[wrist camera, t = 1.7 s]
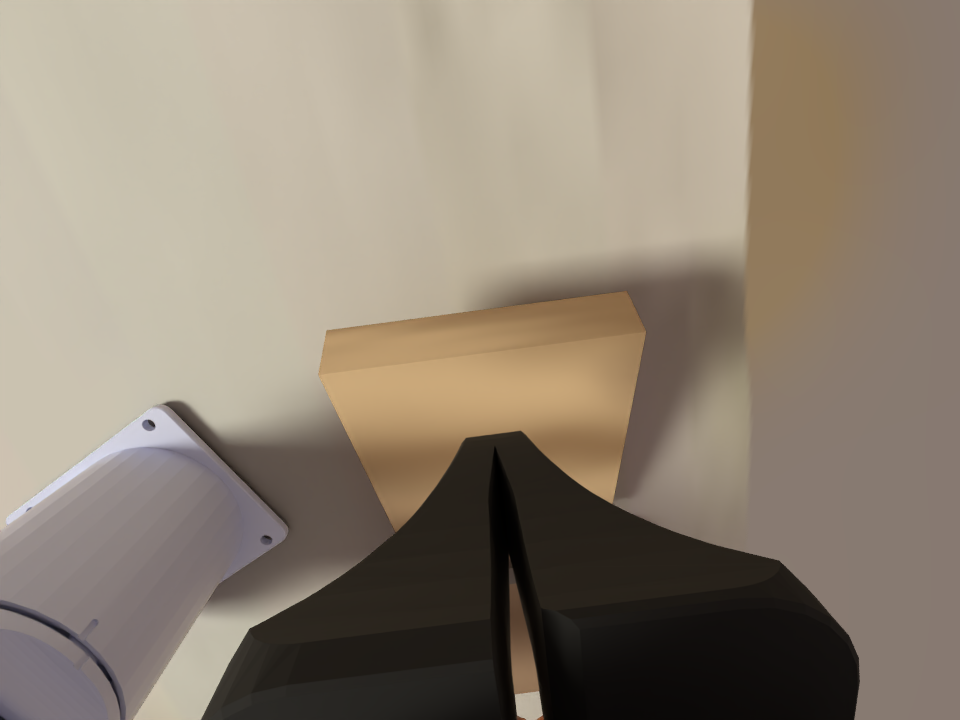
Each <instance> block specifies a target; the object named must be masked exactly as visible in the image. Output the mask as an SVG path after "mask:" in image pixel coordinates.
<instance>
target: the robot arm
mask: <svg viewBox="0 0 960 720" xmlns="http://www.w3.org/2000/svg"><path fill="white" fill-rule="evenodd" d="M148 420H151V421H153V422H154V423H155V427H153V426H151V425H150V424H149V423H148ZM6 524H7V526H6V527H4V528H3V529H2V530H0V720H133V718H134V717H135V715H136V714H137V712H138V711H139V709H140V707H141V706H142V704H143V703H144V701H145V699H146V698H147V696H148V695H149V693H150V692H151V690H152V688H153V687H154V685H155V684H156V682H157V680H158V679H159V677H160V676H161V674H162V673H163V671H164V669H165V668H166V666H167V665H168V663H169V662H170V660H171V658H172V657H173V655H174V654H175V652H176V650H177V649H178V647H179V646H180V644H181V643H182V641H183V639H184V638H185V636H186V635H187V633H188V632H189V630H190V628H191V627H192V625H193V624H194V622H195V620H196V619H197V617H198V616H199V614H200V613H201V611H202V609H203V608H204V606H205V605H206V603H207V602H208V600H209V598H210V597H211V595H212V594H213V592H214V590H215V589H216V587H217V586H218V584H219V583H221V582H222V581H224V580H225V579H227V578H228V577H230V576H231V575H233V574H234V573H236V572H237V571H239V570H240V569H242V568H243V567H245V566H246V565H248V564H249V563H251V562H252V561H254V560H255V559H257V558H258V557H260V556H261V555H263V554H264V553H266V552H267V551H269V550H270V549H272V548H273V547H275V546H276V545H278V544H279V543H281V542H282V541H283V540H284V539H285V538H286V536H287V534H288V527H287V525H286V524H285V523H284V522H283V521H282V520H281V519H280V518H279V517H278V516H277V515H276V514H275V513H274V512H273V511H272V510H271V509H270V508H269V507H268V506H267V505H266V504H265V503H264V502H263V501H262V500H261V499H260V498H259V497H258V496H257V495H256V494H255V493H254V492H253V491H252V490H251V489H250V488H249V487H248V486H247V485H246V484H245V483H244V482H243V481H242V480H241V479H240V478H239V477H238V476H237V475H236V474H235V473H234V472H233V471H232V470H231V469H230V468H229V467H228V466H227V465H226V464H225V463H224V462H223V461H222V460H221V459H220V458H219V457H218V456H217V455H216V454H215V453H214V452H213V450H212V449H211V448H210V447H209V446H208V445H207V444H206V443H205V442H204V441H203V440H202V439H201V438H200V437H199V436H198V435H197V434H196V433H195V432H194V431H193V430H192V429H191V428H190V427H189V426H188V425H187V424H186V423H185V422H184V421H183V420H182V419H181V418H180V417H179V416H178V415H177V414H176V413H175V412H174V411H173V410H172V409H171V408H169V407H168V406H166V405H163V404H159V405H155V406H153V407H152V408H150V409H149V410H147V411H146V412H145V413H143V414H142V415H141V416H139V417H138V418H137V419H136V420H134V421H133V422H132V423H130V424H129V425H128V426H126V427H125V428H124V429H122V430H121V431H120V432H118V433H117V434H116V435H114V436H113V437H112V438H110V439H109V440H108V441H106V442H105V443H104V444H102V445H101V446H100V447H99V448H97V449H96V450H95V451H93V452H92V453H91V454H89V455H88V456H87V457H85V458H84V459H83V460H81V461H80V462H79V463H77V464H76V465H75V466H73V467H72V468H71V469H69V470H68V471H67V472H65V473H64V474H63V475H62V476H60V477H59V478H58V479H56V480H55V481H54V482H52V483H51V484H50V485H48V486H47V487H46V488H44V489H43V490H42V491H40V492H39V493H38V494H36V495H35V496H34V497H32V498H31V499H30V500H29V501H27V502H26V503H25V504H23V505H22V506H21V507H19V508H18V509H17V510H15V511H14V512H13V513H11V514H10V515H9V516H8V517H7V518H6ZM264 535H268V536H270V537H271V538H272V539H267V538H265V537H264ZM509 556H510V560H511V564H512V568H513V573H514V577H515V581H516V585H517V589H518V593H519V597H520V601H521V605H522V609H523V614H524V618H525V622H526V626H527V630H528V634H529V638H530V642H531V646H532V651H533V656H534V661H535V666H536V672H537V679H538V685H539V692H540V699H541V705H542V712H543V718H544V720H854V717H855V711H856V704H857V697H858V690H859V682H860V680H859V657H858V655H857V653H856V651H855V649H854V646H853V644H852V641H851V639H850V637H849V635H848V634H847V633H846V632H845V631H844V629H843V628H842V627H841V626H840V625H839V624H838V623H837V622H836V620H835V619H834V618H833V617H832V616H831V615H830V614H829V613H828V611H827V610H826V609H825V608H824V606H823V605H822V604H821V603H820V602H819V601H818V600H817V598H816V597H815V596H814V595H813V594H812V593H811V592H810V591H809V590H808V588H807V587H806V586H805V585H803V584H802V583H801V582H800V581H799V580H798V579H797V578H796V577H795V576H794V575H793V574H792V573H791V572H790V571H789V570H788V569H787V568H786V567H785V566H784V565H783V564H782V563H781V562H780V561H778V560H774V559H769V558H766V557H761V556H757V555H753V554H749V553H745V552H741V551H737V550H733V549H728V548H724V547H720V546H716V545H713V544H709V543H706V542H703V541H700V540H697V539H694V538H691V537H688V536H685V535H682V534H679V533H676V532H673V531H671V530H668V529H665V528H663V527H660V526H658V525H655V524H653V523H651V522H648V521H646V520H644V519H642V518H639V517H637V516H635V515H633V514H630V513H628V512H626V511H624V510H622V509H620V508H618V507H616V506H615V505H613V504H611V503H609V502H608V501H606V500H604V499H602V498H601V497H599V496H597V495H596V494H594V493H592V492H591V491H589V490H588V489H586V488H585V487H583V486H582V485H580V484H579V483H578V482H576V481H575V480H573V479H572V478H571V477H570V476H568V475H567V474H566V473H565V472H563V471H562V470H561V469H560V468H559V467H558V466H557V465H555V464H554V463H553V462H552V461H551V460H550V459H549V458H548V457H547V456H545V455H544V454H543V453H542V452H541V451H540V450H539V449H538V448H537V447H536V446H535V444H534V443H533V442H532V441H531V440H530V439H529V438H528V437H527V435H526V434H524V433H523V432H522V431H514V432H507V433H499V434H491V435H483V436H476V437H468V438H465V440H464V441H463V442H462V443H461V446H460V448H459V450H458V451H457V453H456V455H455V457H454V459H453V460H452V462H451V464H450V466H449V467H448V469H447V470H446V472H445V473H444V475H443V476H442V478H441V479H440V481H439V482H438V484H437V485H436V487H435V488H434V489H433V491H432V492H431V493H430V495H429V496H428V497H427V499H426V500H425V501H424V502H423V504H422V505H421V506H420V508H419V509H418V510H417V511H416V512H415V513H414V515H413V516H412V517H411V518H410V519H409V520H408V521H407V522H406V523H405V524H404V525H403V526H402V527H401V528H400V529H399V530H398V531H397V532H396V533H395V534H394V535H393V536H392V537H390V538H389V539H388V540H387V541H386V542H384V543H383V544H382V545H381V546H380V547H378V548H377V549H376V550H375V551H374V552H372V553H371V554H370V555H369V556H368V557H366V558H365V559H364V560H363V561H361V562H360V563H359V564H357V565H356V566H355V567H353V568H352V569H350V570H349V571H348V572H346V573H345V574H343V575H342V576H341V577H339V578H337V579H336V580H334V581H333V582H331V583H330V584H328V585H327V586H325V587H324V588H322V589H321V590H319V591H317V592H316V593H314V594H312V595H311V596H309V597H307V598H306V599H304V600H302V601H300V602H299V603H297V604H295V605H293V606H291V607H289V608H288V609H286V610H284V611H282V612H280V613H278V614H277V615H275V616H273V617H271V618H269V619H267V620H266V621H264V622H262V623H260V624H258V625H256V626H254V627H252V628H250V629H249V631H248V632H247V634H246V636H245V637H244V639H243V641H242V643H241V644H240V646H239V648H238V649H237V651H236V653H235V654H234V656H233V658H232V659H231V661H230V663H229V665H228V667H227V669H226V671H225V673H224V675H223V677H222V679H221V681H220V683H219V685H218V687H217V689H216V691H215V693H214V695H213V697H212V699H211V701H210V703H209V705H208V707H207V709H206V711H205V713H204V715H203V717H202V719H201V720H517V712H516V703H515V694H514V685H513V676H512V663H511V640H510V586H509Z"/></svg>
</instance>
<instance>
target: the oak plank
mask: <svg viewBox="0 0 960 720" xmlns="http://www.w3.org/2000/svg"><path fill="white" fill-rule="evenodd" d="M645 336H646V330H645V328H644V326H643V324H642V322H641V320H640V317H639V315H638V313H637V311H636V309H635V307H634V305H633V303H632V301H631V299H630V296H629V294H628V292H627V291H623V292H615V293H607V294H600V295H592V296H585V297H577V298H569V299H562V300H554V301H547V302H539V303H532V304H524V305H516V306H509V307H501V308H494V309H486V310H478V311H471V312H463V313H456V314H448V315H440V316H433V317H425V318H418V319H410V320H403V321H395V322H387V323H380V324H372V325H365V326H357V327H349V328H342V329H334V330H327V331H326V336H325V342H324V347H323V353H322V358H321V363H320V369H319V374H318V375H319V377H320V379H321V381H322V383H323V385H324V387H325V389H326V391H327V393H328V396H329V398H330V400H331V402H332V404H333V406H334V408H335V410H336V412H337V414H338V416H339V418H340V420H341V422H342V424H343V426H344V428H345V430H346V432H347V434H348V436H349V438H350V440H351V443H352V445H353V447H354V449H355V451H356V453H357V455H358V457H359V459H360V461H361V463H362V465H363V467H364V469H365V471H366V473H367V475H368V477H369V479H370V481H371V483H372V485H373V488H374V490H375V492H376V494H377V496H378V498H379V500H380V502H381V504H382V506H383V508H384V510H385V512H386V514H387V516H388V518H389V520H390V522H391V524H392V526H393V528H394V530H395V533H396V532H397V531H398V530H399V529H400V528H401V527H402V526H403V525H404V524H405V523H406V522H407V521H408V520H409V519H410V518H411V517H412V516H413V515H414V513H415V512H416V511H417V510H418V509H419V508H420V506H421V505H422V504H423V502H424V501H425V500H426V499H427V497H428V496H429V495H430V493H431V492H432V491H433V489H434V488H435V487H436V485H437V484H438V482H439V481H440V479H441V478H442V476H443V475H444V473H445V472H446V470H447V469H448V467H449V466H450V464H451V462H452V460H453V459H454V457H455V455H456V453H457V451H458V450H459V448H460V446H461V443H462V442H463V441H464V440H465V438H468V437H476V436H483V435H491V434H499V433H507V432H514V431H522V432H523V433H524V434H526V435H527V437H528V438H529V439H530V440H531V441H532V442H533V443H534V444H535V446H536V447H537V448H538V449H539V450H540V451H541V452H542V453H543V454H544V455H545V456H547V457H548V458H549V459H550V460H551V461H552V462H553V463H554V464H555V465H557V466H558V467H559V468H560V469H561V470H562V471H563V472H565V473H566V474H567V475H568V476H570V477H571V478H572V479H573V480H575V481H576V482H578V483H579V484H580V485H582V486H583V487H585V488H586V489H588V490H589V491H591V492H592V493H594V494H596V495H597V496H599V497H601V498H602V499H604V500H606V501H608V502H609V503H611V504H613V499H614V494H615V489H616V484H617V479H618V474H619V468H620V463H621V458H622V453H623V448H624V443H625V438H626V433H627V428H628V423H629V417H630V412H631V407H632V402H633V397H634V392H635V387H636V382H637V377H638V372H639V366H640V361H641V356H642V351H643V346H644V341H645Z"/></svg>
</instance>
